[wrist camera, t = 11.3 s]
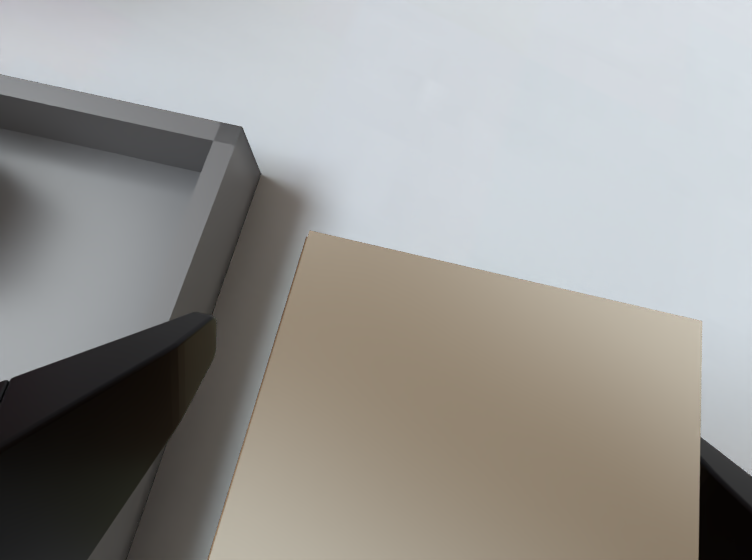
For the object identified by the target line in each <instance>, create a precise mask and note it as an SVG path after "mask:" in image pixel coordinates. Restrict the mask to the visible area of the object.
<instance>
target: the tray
mask: <svg viewBox="0 0 752 560" xmlns="http://www.w3.org/2000/svg"><path fill="white" fill-rule="evenodd" d="M260 175H261V173H260V170H259V168H258V165H257V163H256V160H255V158H254V155H253V153H252V150H251V148H250V145H249V143H248V140H247V138H246V135H245V133H244V130H243V128H242V127H240V126H236V125H231V124H227V123H222V122H217V121H213V120H208V119H204V118H199V117H194V116H190V115H185V114H180V113H176V112H171V111H167V110H162V109H157V108H153V107H148V106H144V105H139V104H134V103H130V102H125V101H121V100H116V99H111V98H107V97H102V96H98V95H93V94H88V93H84V92H79V91H75V90H70V89H65V88H61V87H56V86H51V85H47V84H42V83H38V82H33V81H28V80H24V79H19V78H15V77H10V76H5V75H1V74H0V382H1V381H4V380H8V381H10V379H11V378H13V377H15V376H18V375H21V374H23V373H26V372H29V371H32V370H34V369H37V368H40V367H43V366H46V365H48V364H51V363H54V362H57V361H59V360H62V359H65V358H68V357H70V356H73V355H76V354H79V353H82V352H84V351H87V350H90V349H93V348H95V347H98V346H101V345H104V344H106V343H109V342H112V341H115V340H117V339H120V338H123V337H126V336H128V335H131V334H134V333H137V332H140V331H142V330H145V329H148V328H151V327H153V326H156V325H159V324H162V323H164V322H167V321H170V320H173V319H175V318H178V317H181V316H184V315H186V314H189V313H192V312H201V313H205V314H209V315H212V312H213V309H214V306H215V303H216V301H217V298H218V295H219V292H220V289H221V286H222V283H223V280H224V278H225V275H226V272H227V269H228V266H229V263H230V260H231V258H232V255H233V252H234V249H235V246H236V243H237V240H238V238H239V235H240V232H241V229H242V226H243V223H244V220H245V218H246V215H247V212H248V209H249V206H250V203H251V200H252V198H253V195H254V192H255V189H256V186H257V183H258V180H259V177H260ZM166 444H167V443H166ZM165 446H166V445H165ZM165 446H164V448H163V449H162V451H161V452H160V453H159V455H158V456H157V458H156V459H155V461H154V462H153V464H152V465H151V467H150V468H149V470H148V471H147V473H146V474H145V476H144V477H143V479H142V480H141V482H140V483H139V485H138V486H137V487H136V489H135V490H134V492H133V493H132V495H131V496H130V498H129V499H128V501H127V502H126V504H125V505H124V507H123V508H122V510H121V511H120V513H119V514H118V516H117V517H116V519H115V520H114V521H113V523H112V524H111V526H110V527H109V529H108V530H107V532H106V533H105V535H104V536H103V538H102V539H101V541H100V542H99V544H98V545H97V547H96V548H95V550H94V551H93V553H92V554H91V555H90V557H89V558H88V560H126V558H127V555H128V552H129V549H130V547H131V544H132V541H133V538H134V535H135V532H136V529H137V527H138V524H139V521H140V518H141V515H142V512H143V509H144V507H145V504H146V501H147V498H148V495H149V492H150V489H151V487H152V484H153V481H154V478H155V475H156V472H157V469H158V466H159V464H160V461H161V458H162V455H163V452H164V449H165Z"/></svg>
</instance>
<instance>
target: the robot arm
mask: <svg viewBox="0 0 752 560" xmlns="http://www.w3.org/2000/svg"><path fill="white" fill-rule="evenodd" d="M215 351H216V318H215V317H214V316H213V315H209V314H205V313H201V312H192V313H189V314H186V315H184V316H181V317H178V318H175V319H173V320H170V321H167V322H164V323H162V324H159V325H156V326H153V327H151V328H148V329H145V330H142V331H140V332H137V333H134V334H131V335H128V336H126V337H123V338H120V339H117V340H115V341H112V342H109V343H106V344H104V345H101V346H98V347H95V348H93V349H90V350H87V351H84V352H82V353H79V354H76V355H73V356H70V357H68V358H65V359H62V360H59V361H57V362H54V363H51V364H48V365H46V366H43V367H40V368H37V369H34V370H32V371H29V372H26V373H23V374H21V375H18V376H15V377H13V378H11V379H10V381H8V380H4V381H1V382H0V560H88V558H89V557H90V555H91V554H92V553H93V551H94V550H95V548H96V547H97V545H98V544H99V542H100V541H101V539H102V538H103V536H104V535H105V533H106V532H107V530H108V529H109V527H110V526H111V524H112V523H113V521H114V520H115V519H116V517H117V516H118V514H119V513H120V511H121V510H122V508H123V507H124V505H125V504H126V502H127V501H128V499H129V498H130V496H131V495H132V493H133V492H134V490H135V489H136V487H137V486H138V485H139V483H140V482H141V480H142V479H143V477H144V476H145V474H146V473H147V471H148V470H149V468H150V467H151V465H152V464H153V462H154V461H155V459H156V458H157V456H158V455H159V453H160V452H161V451H162V449H163V448H164V446H165V445H166V443H167V442H168V440H169V439H170V437H171V436H172V434H173V433H174V431H175V430H176V428H177V426H178V425H179V423H180V422H181V420H182V418H183V416H184V414H185V413H186V411H187V409H188V407H189V405H190V403H191V401H192V399H193V397H194V395H195V393H196V391H197V390H198V388H199V386H200V384H201V382H202V380H203V378H204V376H205V374H206V372H207V370H208V369H209V367H210V365H211V363H212V361H213V358H214V356H215ZM698 560H752V476H750V475H749V474H748V473H746V472H745V471H744V470H743V469H741V468H740V467H739V466H737V465H736V464H735V463H734V462H732V461H731V460H730V459H728V458H727V457H726V456H725V455H723V454H722V453H721V452H719V451H718V450H717V449H715V448H714V447H713V446H712V445H710V444H709V443H708V442H706V441H705V440H704V439H703V438H701V437H700V492H699V558H698Z"/></svg>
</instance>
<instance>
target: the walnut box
mask: <svg viewBox="0 0 752 560" xmlns="http://www.w3.org/2000/svg"><path fill="white" fill-rule="evenodd" d="M701 362H702V321H700V320H696V319H691V318H687V317H683V316H678V315H674V314H670V313H665V312H661V311H657V310H652V309H648V308H644V307H639V306H635V305H631V304H626V303H622V302H618V301H613V300H609V299H605V298H600V297H596V296H592V295H587V294H583V293H579V292H574V291H570V290H566V289H561V288H557V287H553V286H548V285H544V284H540V283H535V282H531V281H527V280H522V279H518V278H514V277H509V276H505V275H501V274H496V273H492V272H487V271H483V270H479V269H474V268H470V267H466V266H461V265H457V264H453V263H448V262H444V261H440V260H435V259H431V258H427V257H422V256H418V255H414V254H409V253H405V252H401V251H396V250H392V249H388V248H383V247H379V246H375V245H370V244H366V243H362V242H357V241H353V240H349V239H344V238H340V237H336V236H331V235H327V234H323V233H318V232H314V231H309V234H308V237H306V239H305V243H304V246H303V249H302V252H301V256H300V259H299V262H298V266H297V269H296V272H295V275H294V279H293V282H292V285H291V288H290V292H289V295H288V298H287V301H286V305H285V308H284V311H283V314H282V318H281V321H280V324H279V327H278V331H277V334H276V337H275V341H274V344H273V347H272V350H271V354H270V357H269V360H268V363H267V367H266V370H265V373H264V376H263V380H262V383H261V386H260V389H259V393H258V396H257V399H256V403H255V406H254V409H253V412H252V416H251V419H250V422H249V425H248V429H247V432H246V435H245V438H244V442H243V445H242V448H241V451H240V455H239V458H238V461H237V465H236V468H235V471H234V474H233V478H232V481H231V484H230V487H229V491H228V494H227V497H226V500H225V504H224V507H223V510H222V513H221V517H220V520H219V523H218V526H217V530H216V533H215V536H214V540H213V543H212V546H211V549H210V553H209V556H208V559H207V560H698V558H699V492H700V427H701Z"/></svg>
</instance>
